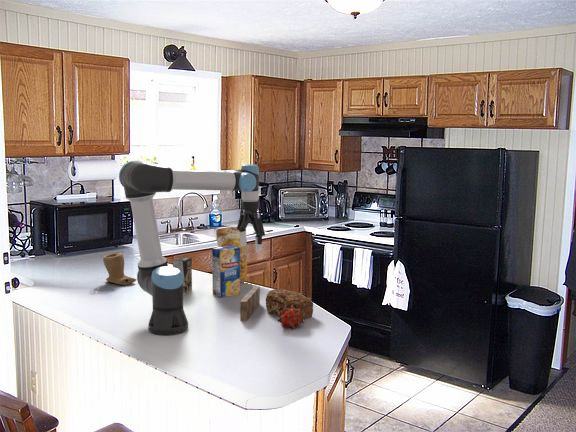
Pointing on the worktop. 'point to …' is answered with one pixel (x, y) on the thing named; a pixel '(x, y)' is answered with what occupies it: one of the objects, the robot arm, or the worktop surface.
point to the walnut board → (249, 303)
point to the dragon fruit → (292, 318)
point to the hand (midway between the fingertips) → (250, 248)
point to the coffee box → (185, 272)
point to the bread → (288, 302)
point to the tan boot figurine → (116, 269)
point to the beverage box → (226, 271)
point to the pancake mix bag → (233, 238)
